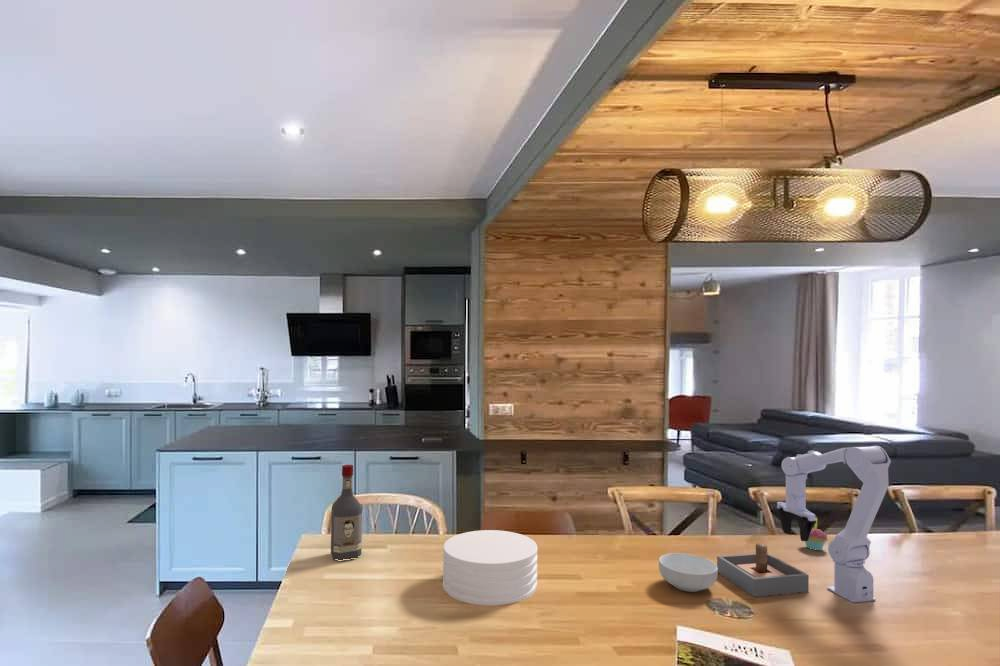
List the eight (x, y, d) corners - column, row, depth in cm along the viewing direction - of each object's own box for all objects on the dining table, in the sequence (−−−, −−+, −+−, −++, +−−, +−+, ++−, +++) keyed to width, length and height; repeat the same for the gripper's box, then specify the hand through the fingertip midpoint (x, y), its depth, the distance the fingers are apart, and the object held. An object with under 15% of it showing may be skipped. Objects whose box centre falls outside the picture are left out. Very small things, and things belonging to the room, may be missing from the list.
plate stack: (424, 592, 160) (424, 551, 160) (473, 559, 185) (473, 524, 185) (511, 614, 147) (511, 571, 147) (551, 576, 172) (551, 539, 172)
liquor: (329, 553, 188) (331, 464, 189) (357, 549, 192) (358, 462, 193) (333, 563, 180) (335, 469, 181) (362, 558, 184) (364, 467, 185)
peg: (769, 579, 169) (769, 546, 169) (761, 581, 168) (761, 547, 168) (761, 575, 172) (761, 542, 172) (753, 576, 171) (753, 544, 171)
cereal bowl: (722, 602, 156) (722, 576, 156) (661, 596, 159) (661, 571, 159) (712, 577, 173) (712, 554, 173) (656, 572, 176) (656, 550, 176)
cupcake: (832, 553, 195) (832, 518, 195) (808, 552, 195) (808, 518, 195) (819, 544, 203) (819, 511, 204) (795, 543, 204) (795, 510, 204)
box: (808, 592, 163) (808, 574, 163) (754, 597, 159) (754, 579, 159) (766, 568, 180) (766, 552, 181) (717, 571, 177) (717, 556, 177)
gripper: (769, 489, 186) (769, 530, 186) (801, 501, 172) (801, 545, 172) (787, 488, 188) (787, 528, 188) (821, 500, 174) (821, 543, 174)
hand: (795, 536), depth 180 cm, fingers open, 7 cm apart
